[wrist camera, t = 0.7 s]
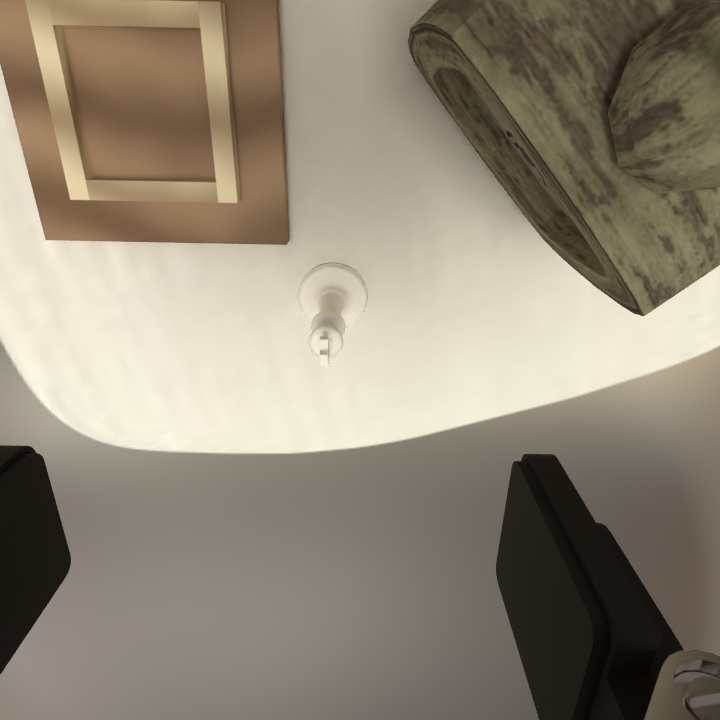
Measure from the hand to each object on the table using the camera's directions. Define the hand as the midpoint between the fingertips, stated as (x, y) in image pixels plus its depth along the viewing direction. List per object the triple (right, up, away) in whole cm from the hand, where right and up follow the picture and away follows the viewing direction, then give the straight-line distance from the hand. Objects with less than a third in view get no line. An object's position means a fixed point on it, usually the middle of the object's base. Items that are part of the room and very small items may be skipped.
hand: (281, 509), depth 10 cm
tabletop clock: (+12, +19, +21) cm, 31 cm away
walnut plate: (-11, +19, +21) cm, 30 cm away
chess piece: (0, +8, +27) cm, 28 cm away
